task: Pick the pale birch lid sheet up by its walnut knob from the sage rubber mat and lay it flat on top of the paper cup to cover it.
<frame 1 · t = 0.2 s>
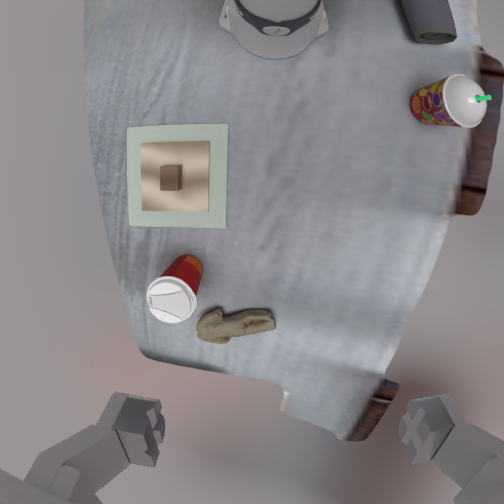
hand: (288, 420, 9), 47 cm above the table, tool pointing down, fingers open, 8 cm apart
lid: (174, 176, 53), resting on mat
mat: (175, 176, 53), on the table
paper cup: (188, 268, 59), on the table
smoothie: (423, 107, 47), on the table
sculpture: (236, 317, 62), on the table
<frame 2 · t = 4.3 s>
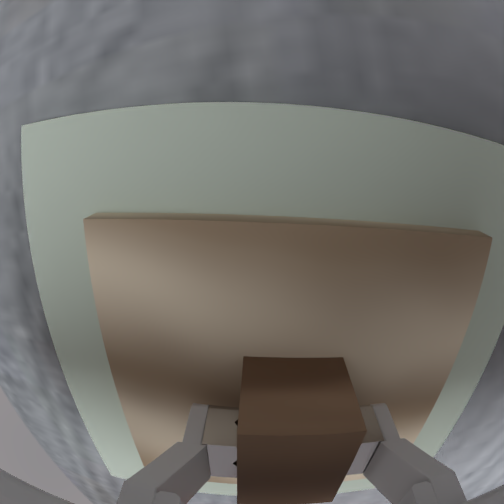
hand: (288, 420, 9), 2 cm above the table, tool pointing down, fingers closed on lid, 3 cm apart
lid: (286, 387, 10), point 1 cm above the table, touching gripper, mat
mat: (284, 378, 11), on the table
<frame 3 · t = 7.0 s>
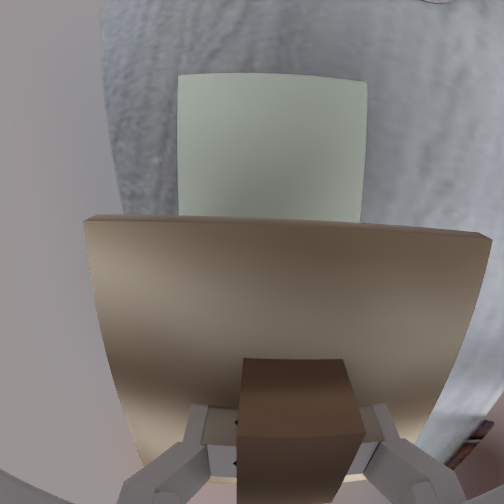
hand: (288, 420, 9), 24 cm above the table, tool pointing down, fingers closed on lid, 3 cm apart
lid: (286, 389, 10), point 22 cm above the table, touching gripper
mat: (271, 165, 30), on the table
when the fingers open (17 cm above the table, at t = 9.6 s): lid drops 1 cm, resting on paper cup.
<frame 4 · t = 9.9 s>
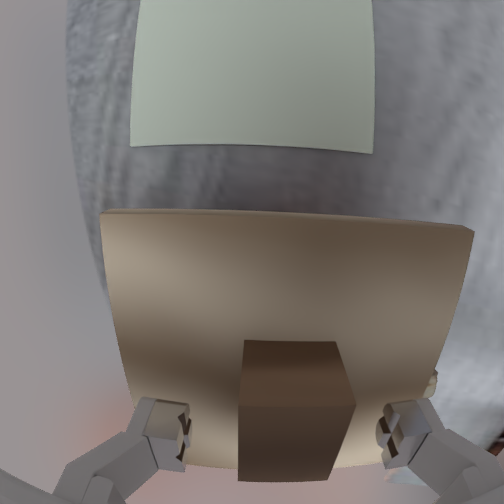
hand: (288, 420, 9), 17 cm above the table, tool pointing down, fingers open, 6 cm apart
lid: (284, 372, 11), point 14 cm above the table, touching paper cup
mat: (254, 31, 19), on the table
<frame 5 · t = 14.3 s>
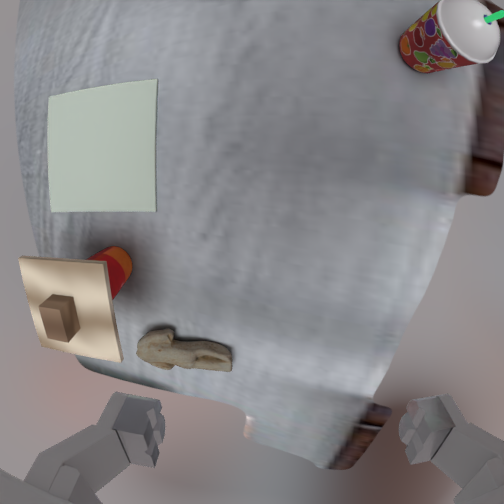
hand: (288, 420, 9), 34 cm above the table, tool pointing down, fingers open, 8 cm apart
lid: (69, 308, 31), point 14 cm above the table, touching paper cup
mat: (97, 148, 39), on the table
paper cup: (116, 263, 45), on the table, touching lid
smoothie: (416, 53, 33), on the table
sculpture: (188, 343, 49), on the table
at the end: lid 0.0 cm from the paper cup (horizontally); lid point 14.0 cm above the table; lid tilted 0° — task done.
